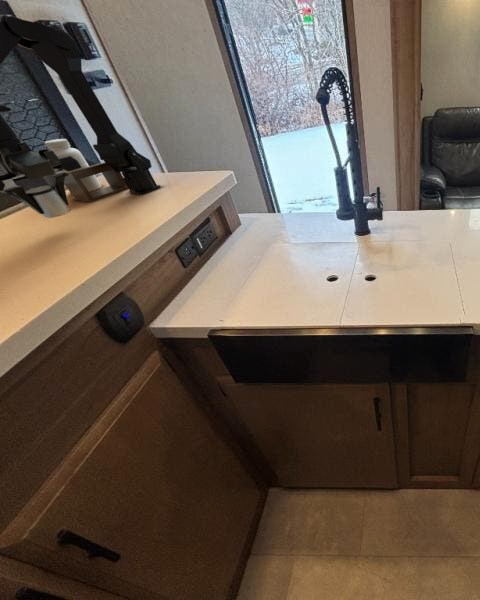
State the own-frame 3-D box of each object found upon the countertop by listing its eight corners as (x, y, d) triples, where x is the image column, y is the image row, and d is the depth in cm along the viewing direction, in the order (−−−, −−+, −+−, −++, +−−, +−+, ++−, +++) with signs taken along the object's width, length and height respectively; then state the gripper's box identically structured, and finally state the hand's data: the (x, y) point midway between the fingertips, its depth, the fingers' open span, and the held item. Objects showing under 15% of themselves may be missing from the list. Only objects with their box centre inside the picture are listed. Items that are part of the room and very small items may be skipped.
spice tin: (63, 208, 81) (46, 184, 77) (75, 210, 79) (58, 186, 76) (39, 216, 77) (19, 192, 74) (51, 219, 76) (31, 194, 72)
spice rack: (75, 199, 99) (54, 170, 93) (114, 186, 107) (97, 159, 102) (90, 201, 96) (70, 172, 91) (129, 188, 105) (113, 160, 99)
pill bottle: (106, 187, 106) (75, 138, 97) (78, 195, 101) (42, 144, 92) (96, 184, 110) (65, 136, 101) (68, 192, 105) (33, 142, 96)
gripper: (-42, 153, 59) (26, 230, 68) (71, 130, 72) (114, 198, 82) (-68, 150, 62) (-1, 224, 72) (43, 129, 76) (88, 194, 85)
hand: (54, 209), depth 78 cm, fingers closed on spice tin, 5 cm apart
